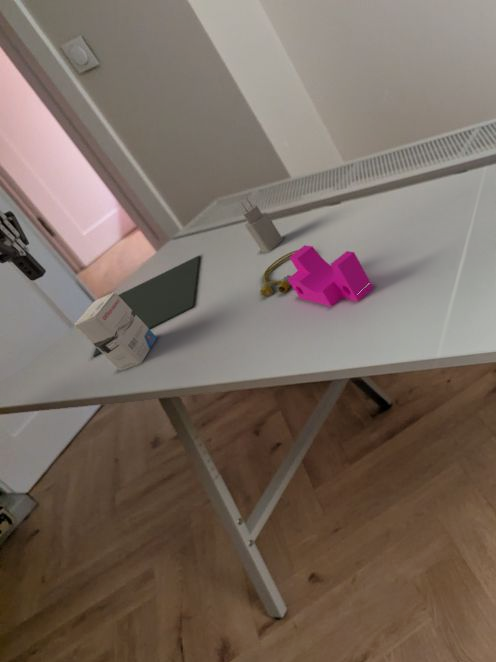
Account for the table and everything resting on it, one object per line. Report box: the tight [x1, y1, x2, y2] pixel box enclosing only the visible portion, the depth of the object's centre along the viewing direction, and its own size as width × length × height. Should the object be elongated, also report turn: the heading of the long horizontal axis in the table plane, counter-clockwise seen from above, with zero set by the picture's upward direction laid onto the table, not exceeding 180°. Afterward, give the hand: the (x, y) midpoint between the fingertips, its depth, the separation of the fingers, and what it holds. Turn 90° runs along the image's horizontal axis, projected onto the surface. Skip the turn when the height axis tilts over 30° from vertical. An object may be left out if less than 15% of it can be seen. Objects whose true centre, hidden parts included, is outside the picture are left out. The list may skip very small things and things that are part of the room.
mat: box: [93, 255, 201, 358], centre depth 123 cm, size 30×22×1 cm
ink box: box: [73, 292, 158, 371], centre depth 101 cm, size 8×5×12 cm, turn 6°
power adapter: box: [240, 197, 284, 253], centre depth 121 cm, size 3×5×12 cm, turn 158°
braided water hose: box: [260, 249, 299, 298], centre depth 109 cm, size 12×16×2 cm
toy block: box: [288, 244, 374, 307], centre depth 93 cm, size 15×6×8 cm, turn 51°
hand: (39, 276), depth 86 cm, fingers closed
